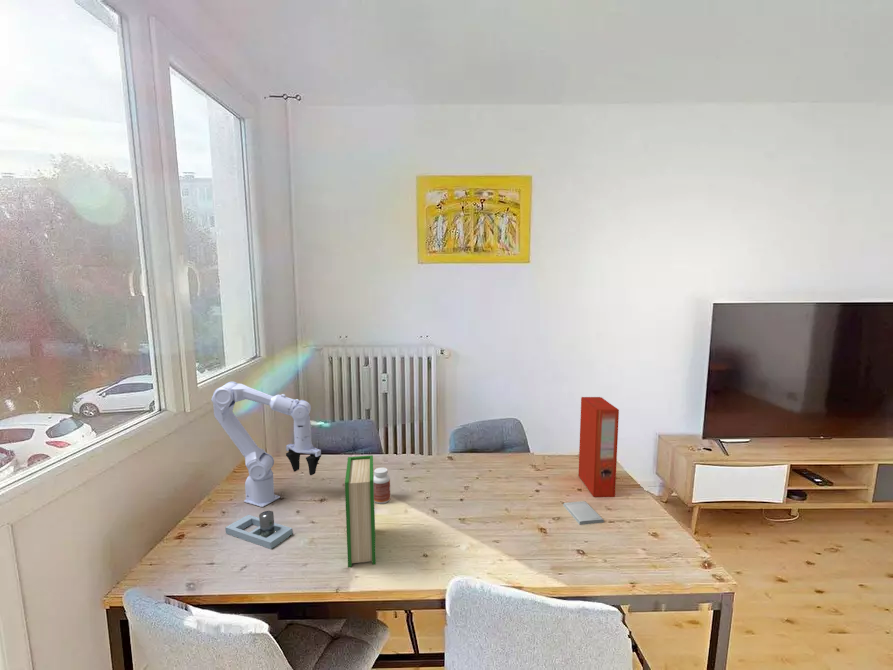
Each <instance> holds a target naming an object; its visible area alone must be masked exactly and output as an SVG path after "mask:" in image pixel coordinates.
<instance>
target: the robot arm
mask: <svg viewBox="0 0 893 670" xmlns="http://www.w3.org/2000/svg"><path fill="white" fill-rule="evenodd" d="M244 400H248V401H252V402H255V403H258V404H261V405H263V404H264V405H267V406H269V407H270V409H271V411H274V412H277V413H281V414H283V415H287V416H289V417H291V418H292V419H293V437H294V438H293V440H294V443H289V444H287V445H285V450H286V451H288V452H286V453H285V456H286V457H287V459H288V460H289V462H290V465H291V467H292V470H293V472H297V471H299V470H300V467H301V466H300V462H301V461H300V458H301V454H306V455H308V456H306V457H305V460H306V463H307V465H308V474H309V476H313V475H315V474H316V471H317V467H318V464H319V461H320V460H321V457H322V449H319V448H317V447H315V446H314V445H313V444H312V427H311V426H312V425H311V416H310V413H311V411H312V406H311V403H309V402H308V401H307V400H304V399H300V400H299V399H298V398H296V399H294V398H290V397H288V396H287V395H286V394H285V393H281V394H279V393H278V394H276V395H271V394H269V393H265V392H263V391H260V390H258V389H255V388H252V387H250V386H248V385H246V384H244V383H238V382H236V381H228V382H226V383H225V384H224V385H222V386H220V387H217V388H216V389H215V390H214V391H213V395H212V396H211V402H212V406H213V408H212V409H213V416H214V418H215V419H216V420H217V422H218V423H219V425H220V426H221V428H222V429H223V430H224V431H225V433H226V434H227V436H228V437H229V438H230V440H231V441H232V443H233V444H234V445H235V447H236V448H237V449H238V450H239V452H240V453H241V454H242V456H243V457H244V463H245V467H246V468H247V470H248V474H249V475H248V476H247V478H246V480H245V481H244V489H245V490H244V492H245V499H244V500H243V502H244V503H247V504H250V505H253V506H257V507H261V508H263V507H266V506H268V505H270V504H271V503H272V502H275V501H276V500H278V499H280V498H281V496H280V495H277V494H275V485H274V484H275V483H274V472H273V470H272V468H273V466H274V464H275V459H274V457H273V456H272V455H271V454H270V453H267V452H266V451H265V449H264V448H260V447H259V446H258V445H257V443H256V441H254V439H253V438H252V436H251V435H250V434H249V432H248V430H246V428H245V426H243V424H242V423H241V421H240V420H239V419H238V417H237V416H236V415H235V413H234V412H233V410H234V408H235V404H236V403H238V402H240V401H244Z"/></svg>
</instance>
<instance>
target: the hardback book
mask: <svg viewBox="0 0 893 670" xmlns="http://www.w3.org/2000/svg"><path fill="white" fill-rule="evenodd" d="M345 470H346V471H345V478H344V479H345V480H344V495H345V496H344V497H345V498H344V499H345V516H346V517H345V520H346V522H345V524H346V526H345V528H346V548H347V552H346V553H347V568H352V565H353V564H356V563H366V562H371V563H372V564H371V565H373V566H374V565H376V564H377V561H376V559H377V557H376V555H377V554H376V521H375V520H376V518H375V516H376V515H375V514H376V513H375V502H374V455H371V454H370V455H357V456H347V464H346V469H345Z"/></svg>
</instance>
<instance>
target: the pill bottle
mask: <svg viewBox="0 0 893 670" xmlns="http://www.w3.org/2000/svg"><path fill="white" fill-rule="evenodd" d="M388 472H389V471H388V468H386V467H377V468H375V469H373V477H374V504H380V505H382V504H386V503H388V502H390V500H391V477H390V475H389V473H388Z"/></svg>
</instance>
